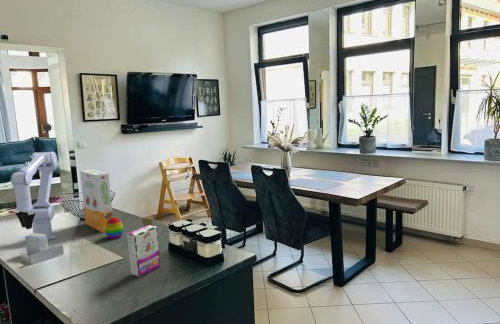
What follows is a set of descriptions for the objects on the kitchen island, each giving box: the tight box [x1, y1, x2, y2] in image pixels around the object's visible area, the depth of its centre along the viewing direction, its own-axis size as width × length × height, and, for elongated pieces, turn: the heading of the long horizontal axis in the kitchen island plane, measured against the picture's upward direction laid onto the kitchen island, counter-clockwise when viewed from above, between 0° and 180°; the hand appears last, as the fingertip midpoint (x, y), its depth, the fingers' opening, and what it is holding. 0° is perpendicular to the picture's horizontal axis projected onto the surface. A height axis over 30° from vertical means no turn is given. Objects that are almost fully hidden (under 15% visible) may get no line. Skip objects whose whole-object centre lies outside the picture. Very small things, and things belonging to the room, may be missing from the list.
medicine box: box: [24, 232, 49, 255], centre depth 162 cm, size 8×4×9 cm, turn 71°
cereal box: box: [79, 169, 113, 233], centre depth 197 cm, size 22×6×30 cm, turn 44°
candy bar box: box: [126, 225, 161, 278], centre depth 141 cm, size 11×5×16 cm, turn 148°
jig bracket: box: [20, 244, 65, 266], centre depth 160 cm, size 12×13×4 cm
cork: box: [141, 215, 154, 227], centre depth 176 cm, size 6×6×11 cm
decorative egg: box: [105, 216, 124, 240], centre depth 181 cm, size 8×8×10 cm
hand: (26, 227), depth 167 cm, fingers open, 4 cm apart
